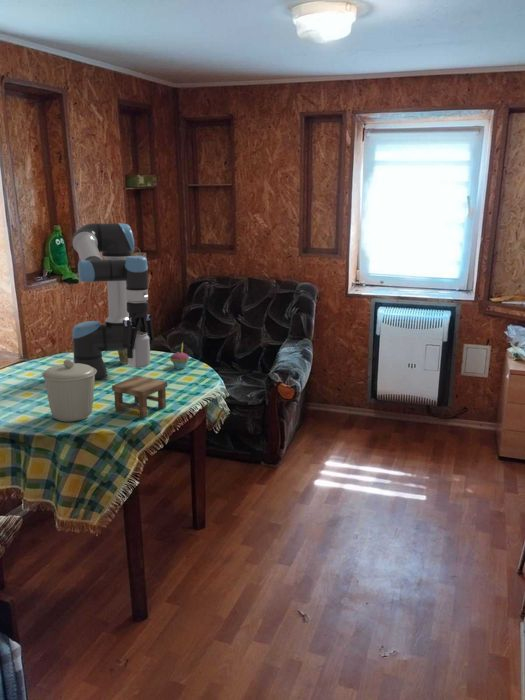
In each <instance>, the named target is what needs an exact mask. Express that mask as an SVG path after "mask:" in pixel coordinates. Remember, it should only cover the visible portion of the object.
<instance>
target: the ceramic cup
mask: <svg viewBox="0 0 525 700" xmlns="http://www.w3.org/2000/svg"><path fill="white" fill-rule="evenodd" d="M117 353H118V358H119V363H120V364H123V365H128V357H127V350H124V351H123V350H117Z"/></svg>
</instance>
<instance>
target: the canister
mask: <svg viewBox="0 0 525 700" xmlns="http://www.w3.org/2000/svg"><path fill="white" fill-rule="evenodd" d="M96 372H97V370H96V369H95V368H93V367H91V366H89V365H86V364H80V363H74V359H72V358H67V359H65V360H64V361H63V363H61V364H56V365H52V366H50V367H48V368H47V369H46V370H44V371H42V373H41V377H42V378H43V379H44V385H45V390H46V395H47V401H48V404H49V409H50V413H51V415H52V417H53V418H54V419H55V420H57V421H58V422H59V421H60V422H64V423H65V422H66V423H67V422H68V423H69V422H79V421H82V420H84V419H87V418H88V417H90V415H91V414H92V411H93V405H94V393H95V392H94V391H95V381H96V380H95V374H96Z"/></svg>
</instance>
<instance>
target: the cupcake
mask: <svg viewBox="0 0 525 700" xmlns="http://www.w3.org/2000/svg"><path fill="white" fill-rule="evenodd" d="M183 349H184V342H182V343H181V348H180V352H179V351H177V352H175V353H173V354H171V356H170V360H169V361H171V362H172V364H173V367H174V369H176V368H183V369H185V368H186V365H187V363H188V361H189V360H190V356H189V355H188V354H187V353H185V352H183ZM184 367H185V368H184Z"/></svg>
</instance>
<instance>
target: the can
mask: <svg viewBox="0 0 525 700" xmlns="http://www.w3.org/2000/svg"><path fill="white" fill-rule="evenodd" d="M142 334H144V335H142ZM130 346H131V345H130ZM133 349H135V356H136V367H135V369H136V368H139V369H141V368H146V367H148V366H149V365H150V364H151V344H150V345H149V336H148V335H147V333H146V332H141V331H137V334H136V339H135V344H134V348H133Z"/></svg>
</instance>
